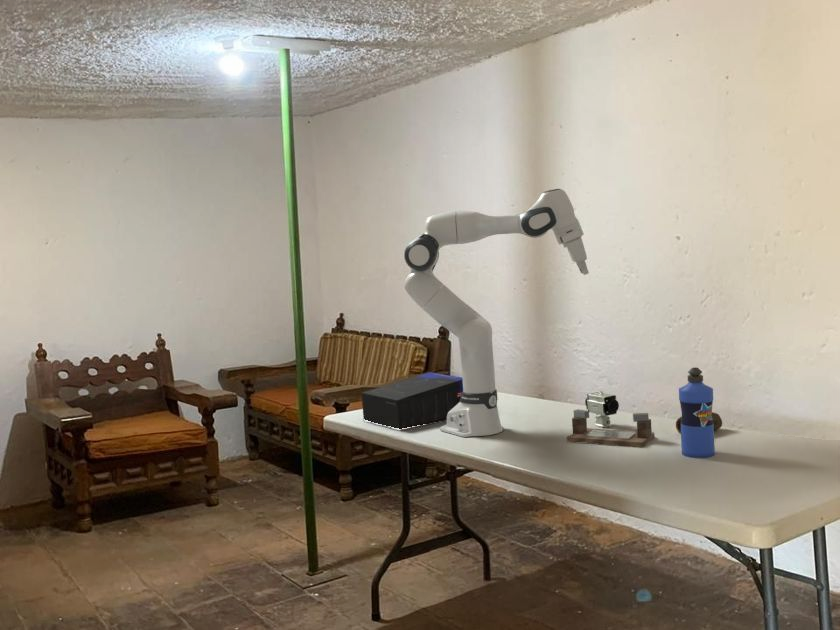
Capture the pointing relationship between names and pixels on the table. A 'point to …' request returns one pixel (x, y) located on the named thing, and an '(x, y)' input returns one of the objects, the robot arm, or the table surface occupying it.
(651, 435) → the shaft rig base
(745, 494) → the table surface
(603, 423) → the pneumatic valve
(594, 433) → the grey long bracket
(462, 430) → the robot arm
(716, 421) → the brown wooden cylinder
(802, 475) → the table surface
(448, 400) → the headphone box
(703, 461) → the table surface
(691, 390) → the water bottle
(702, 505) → the table surface
